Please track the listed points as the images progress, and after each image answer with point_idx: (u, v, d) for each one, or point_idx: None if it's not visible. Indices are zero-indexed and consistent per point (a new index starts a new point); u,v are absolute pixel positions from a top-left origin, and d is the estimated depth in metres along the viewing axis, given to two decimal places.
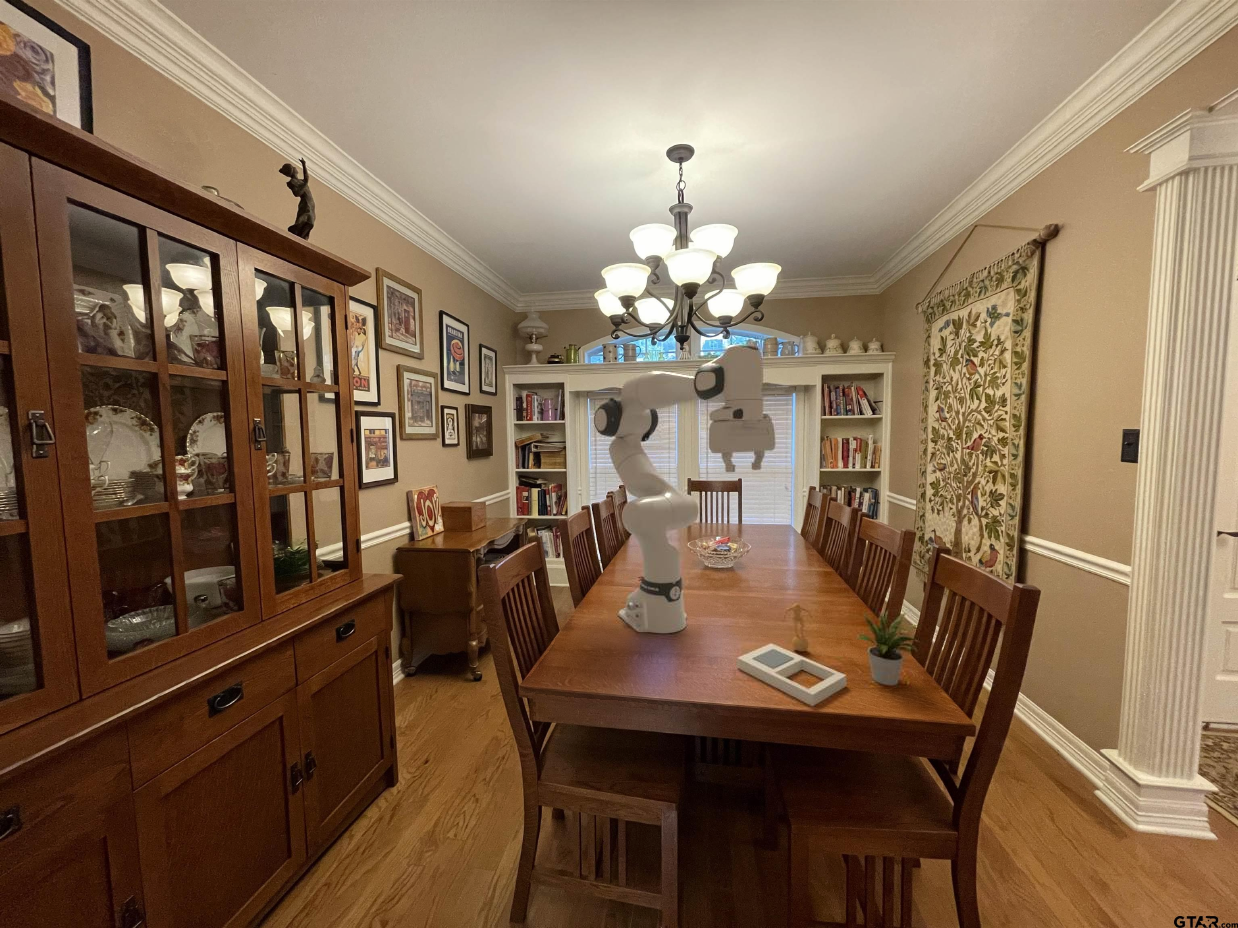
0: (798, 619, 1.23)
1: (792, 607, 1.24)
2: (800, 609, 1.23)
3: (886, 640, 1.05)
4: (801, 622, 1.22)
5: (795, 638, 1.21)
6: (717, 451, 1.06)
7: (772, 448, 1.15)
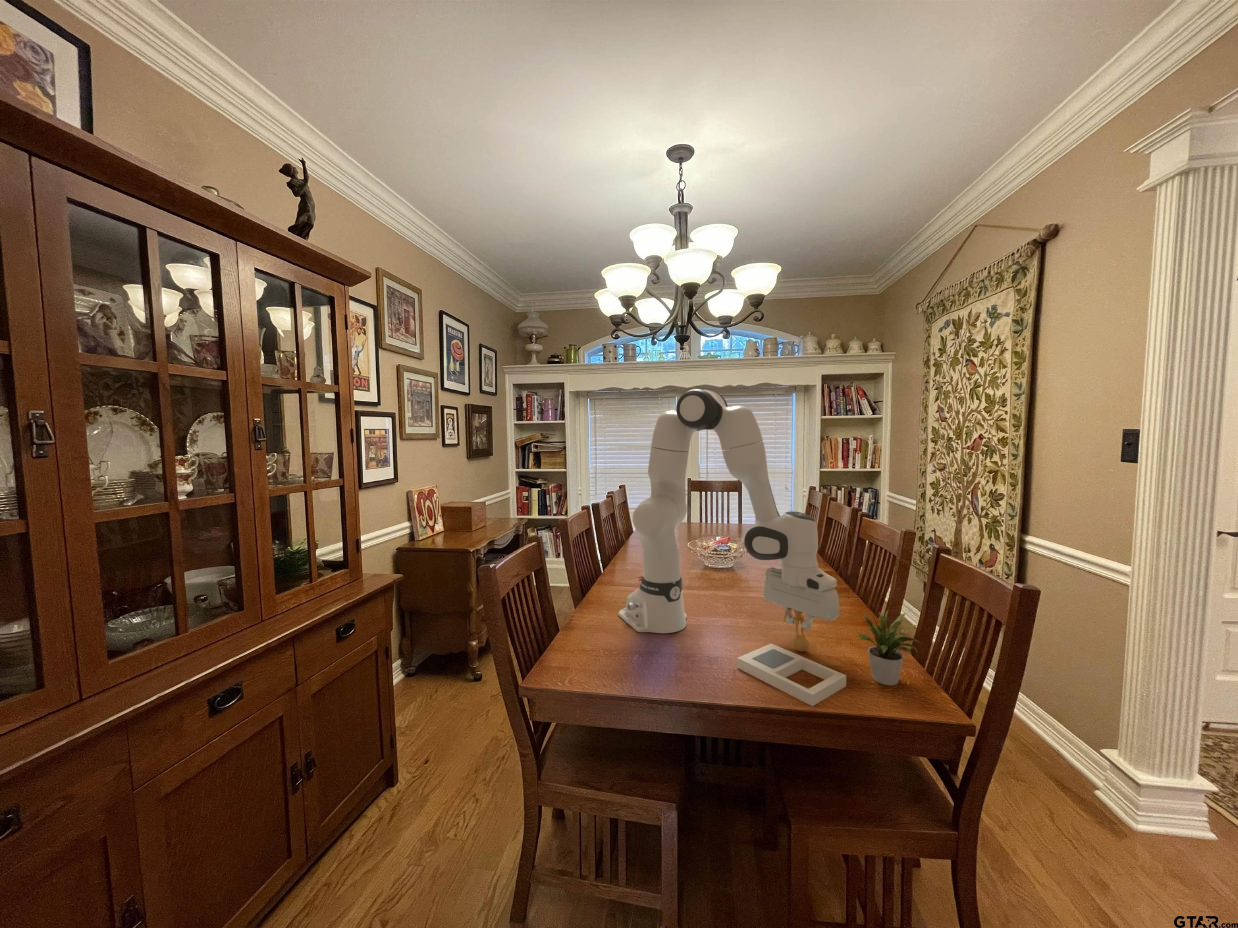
0: (799, 619, 1.22)
1: None
2: None
3: (886, 640, 1.05)
4: None
5: (796, 638, 1.21)
6: (835, 618, 1.15)
7: None
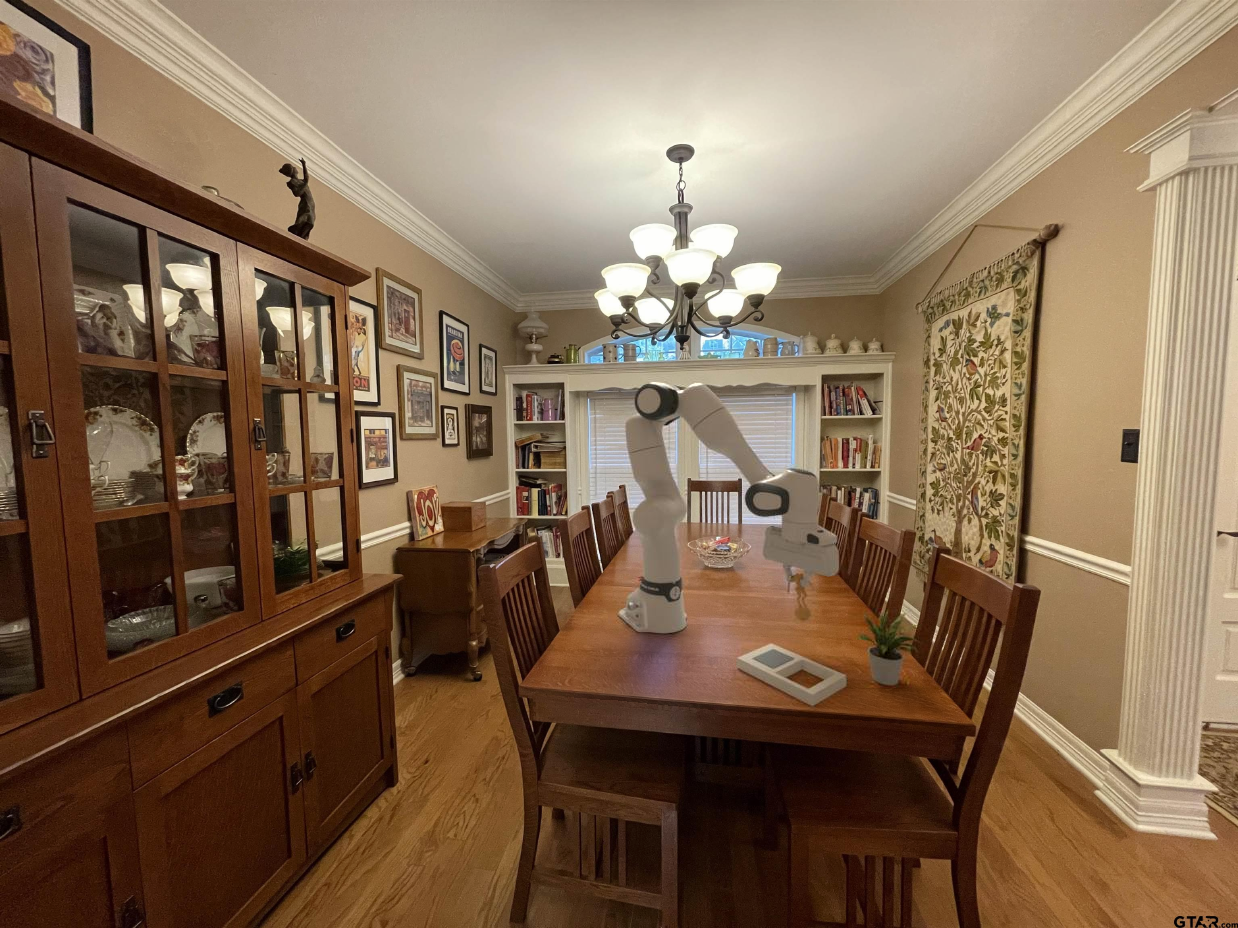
0: (801, 589, 1.22)
1: (795, 577, 1.22)
2: None
3: (886, 640, 1.05)
4: (804, 592, 1.21)
5: (799, 608, 1.20)
6: (834, 574, 1.14)
7: None
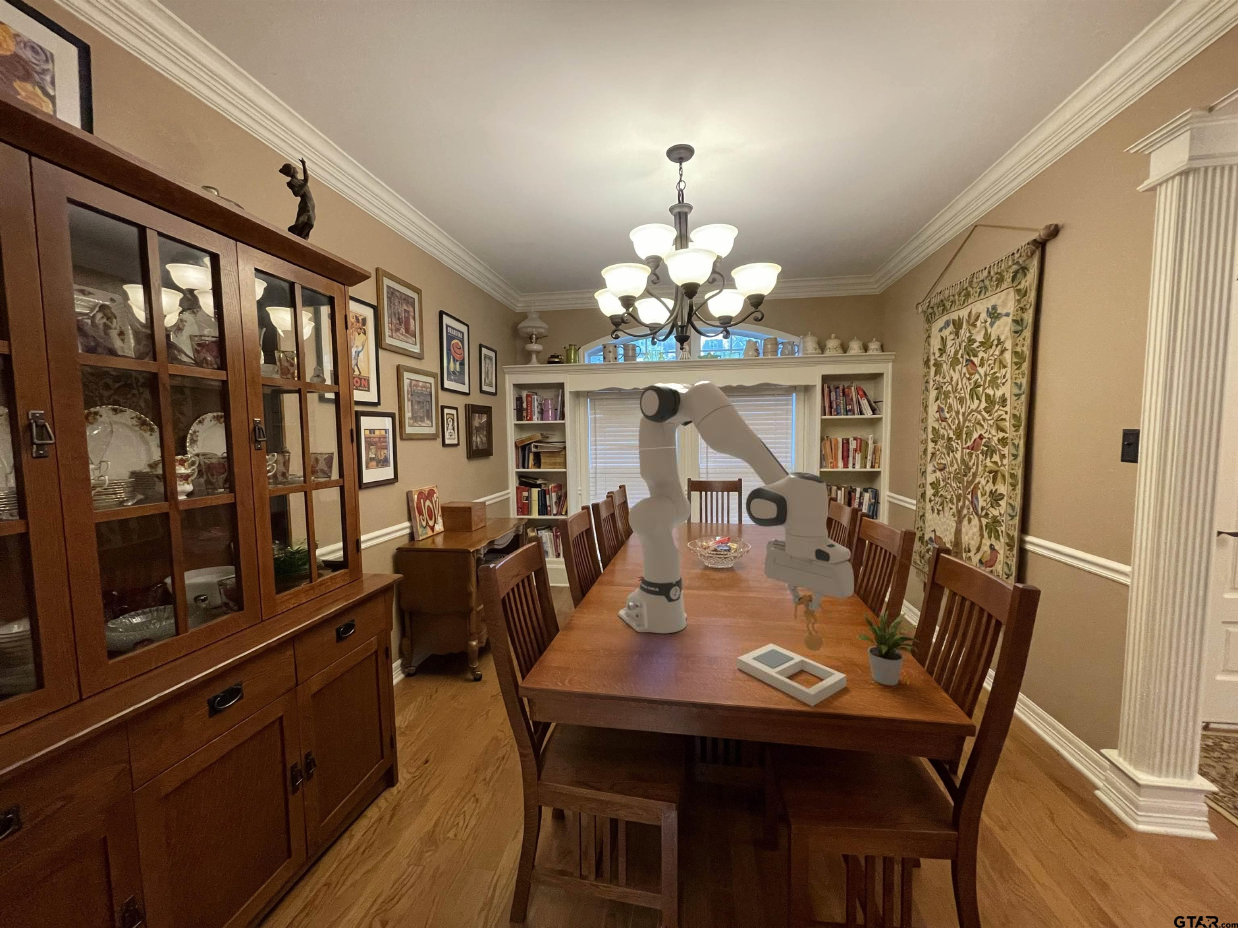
0: (810, 613, 1.04)
1: (803, 599, 1.04)
2: None
3: (886, 640, 1.05)
4: (814, 616, 1.04)
5: (809, 636, 1.03)
6: (849, 595, 0.97)
7: None
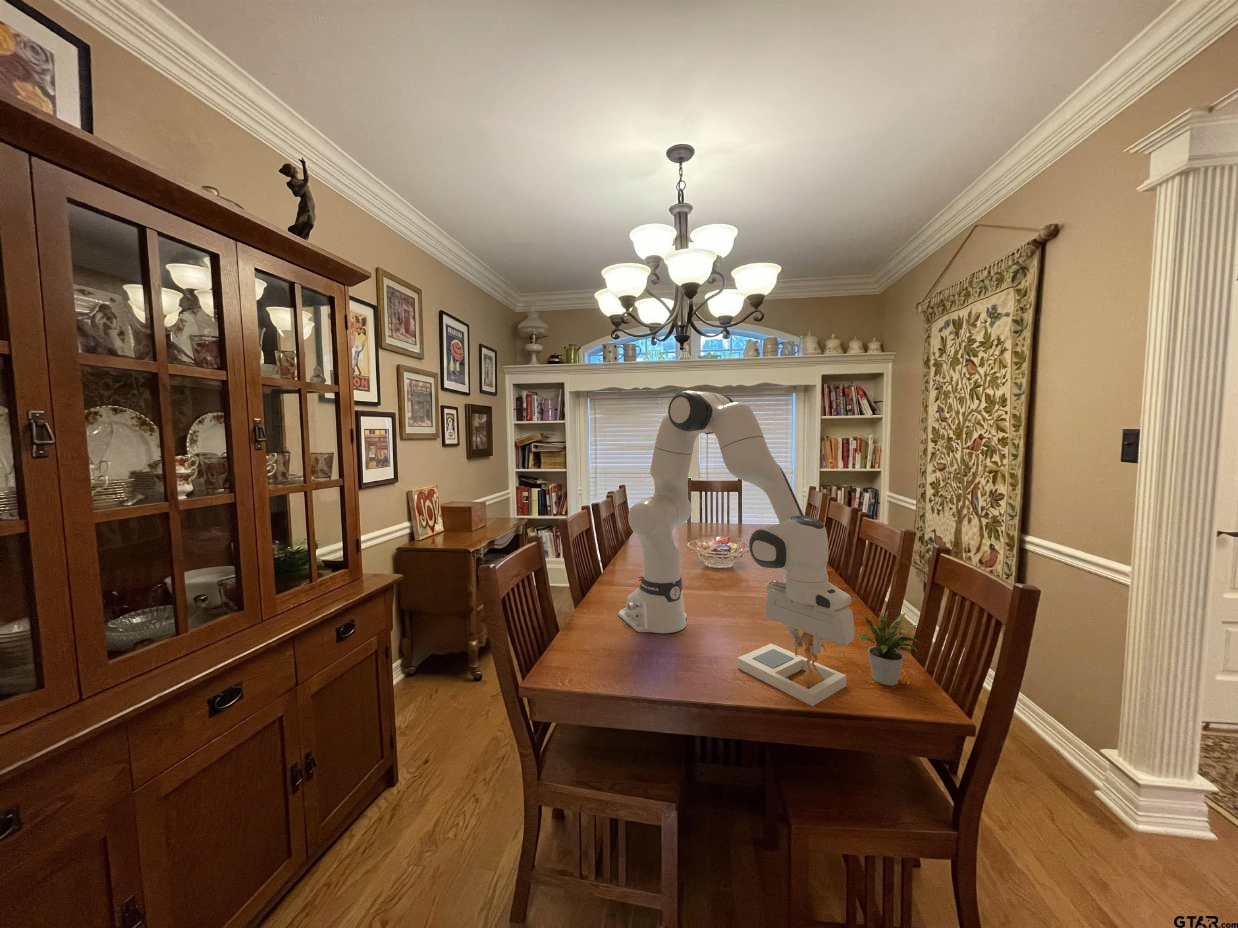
0: None
1: (804, 637, 1.05)
2: (812, 639, 1.05)
3: (886, 640, 1.05)
4: (814, 654, 1.04)
5: (809, 674, 1.03)
6: None
7: None
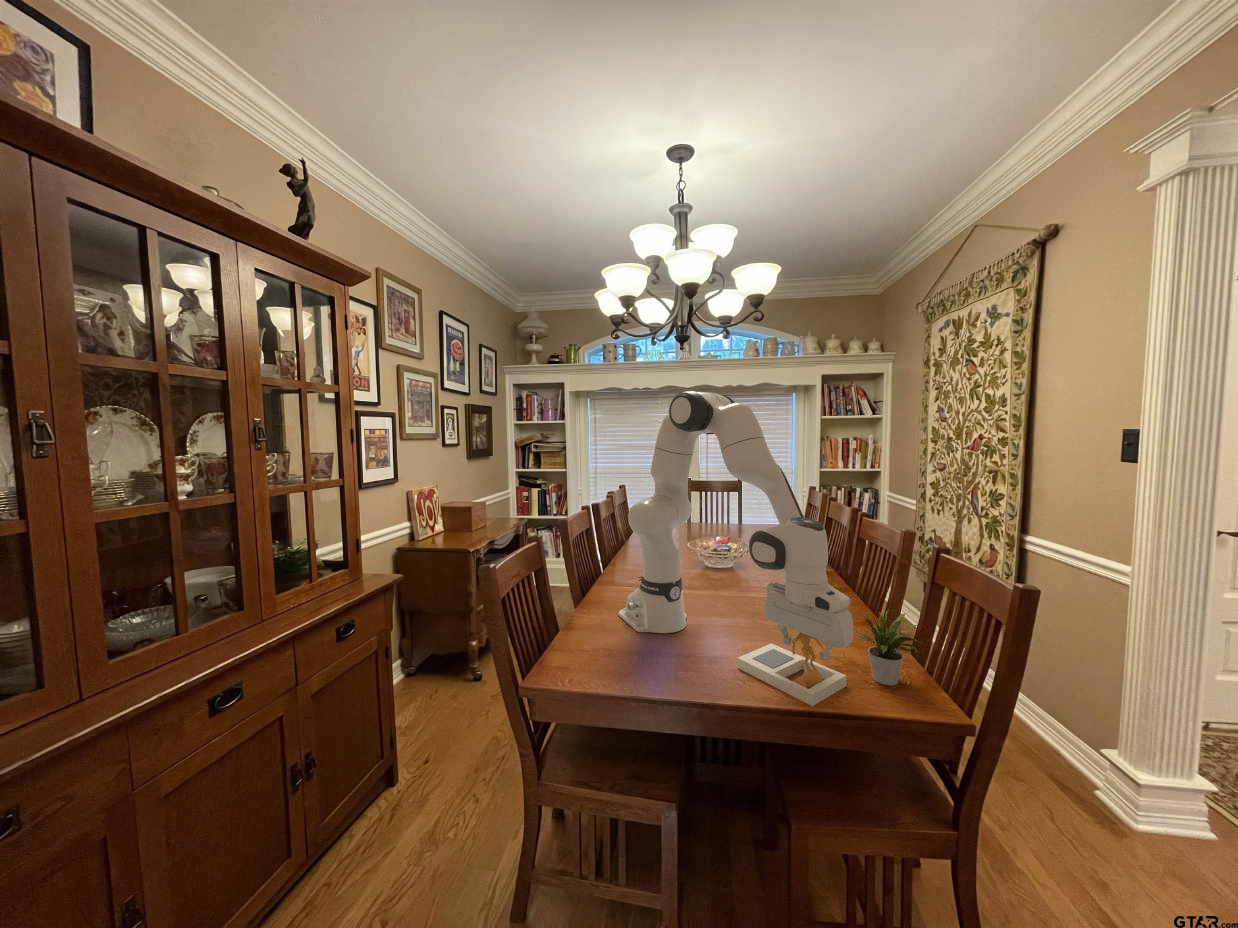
0: (808, 649, 1.06)
1: (800, 636, 1.06)
2: (809, 637, 1.06)
3: (886, 640, 1.05)
4: (812, 652, 1.05)
5: (808, 672, 1.04)
6: None
7: None
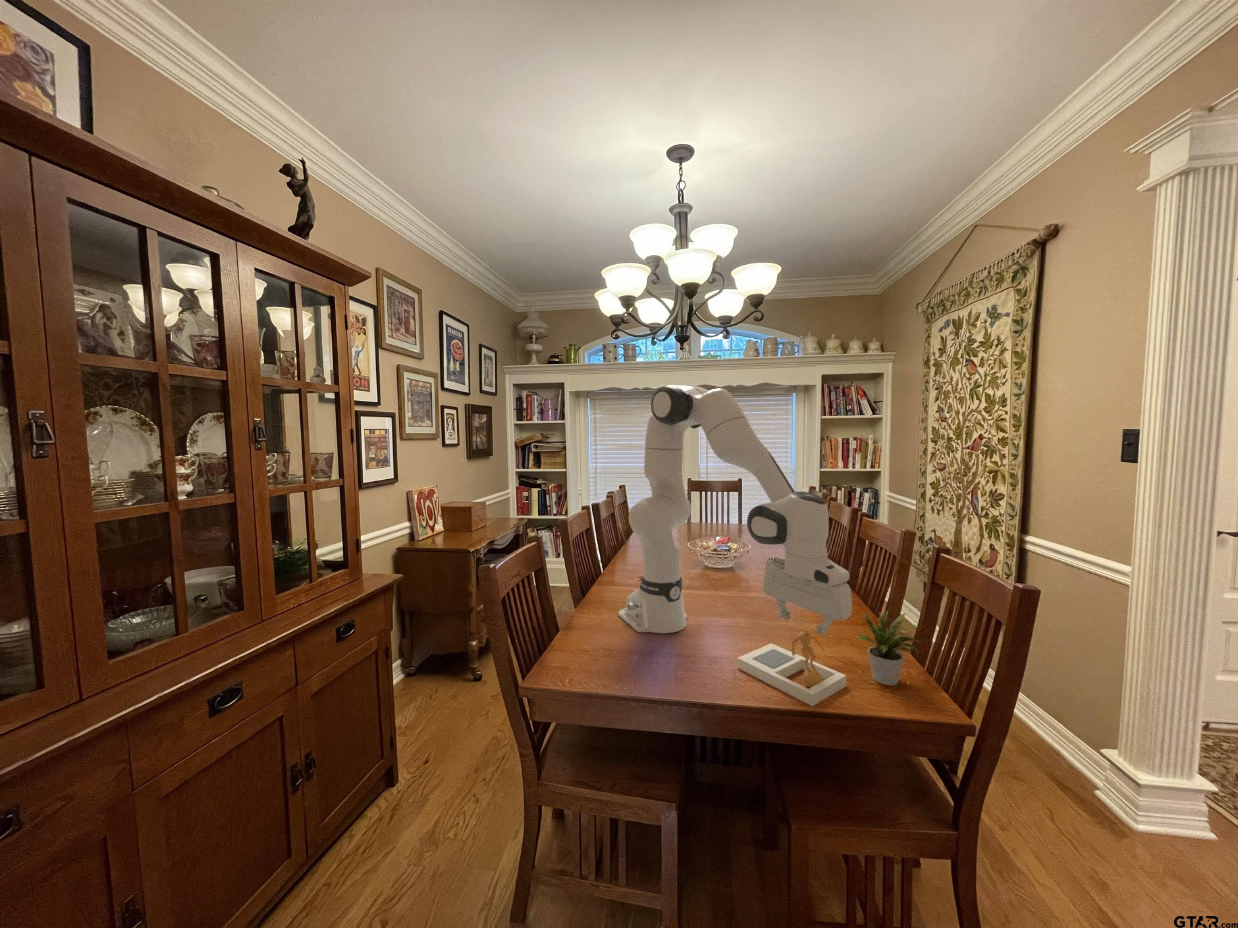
0: (808, 650, 1.05)
1: (800, 636, 1.06)
2: (809, 638, 1.06)
3: (886, 640, 1.05)
4: (812, 653, 1.05)
5: (808, 673, 1.04)
6: (847, 617, 0.97)
7: None
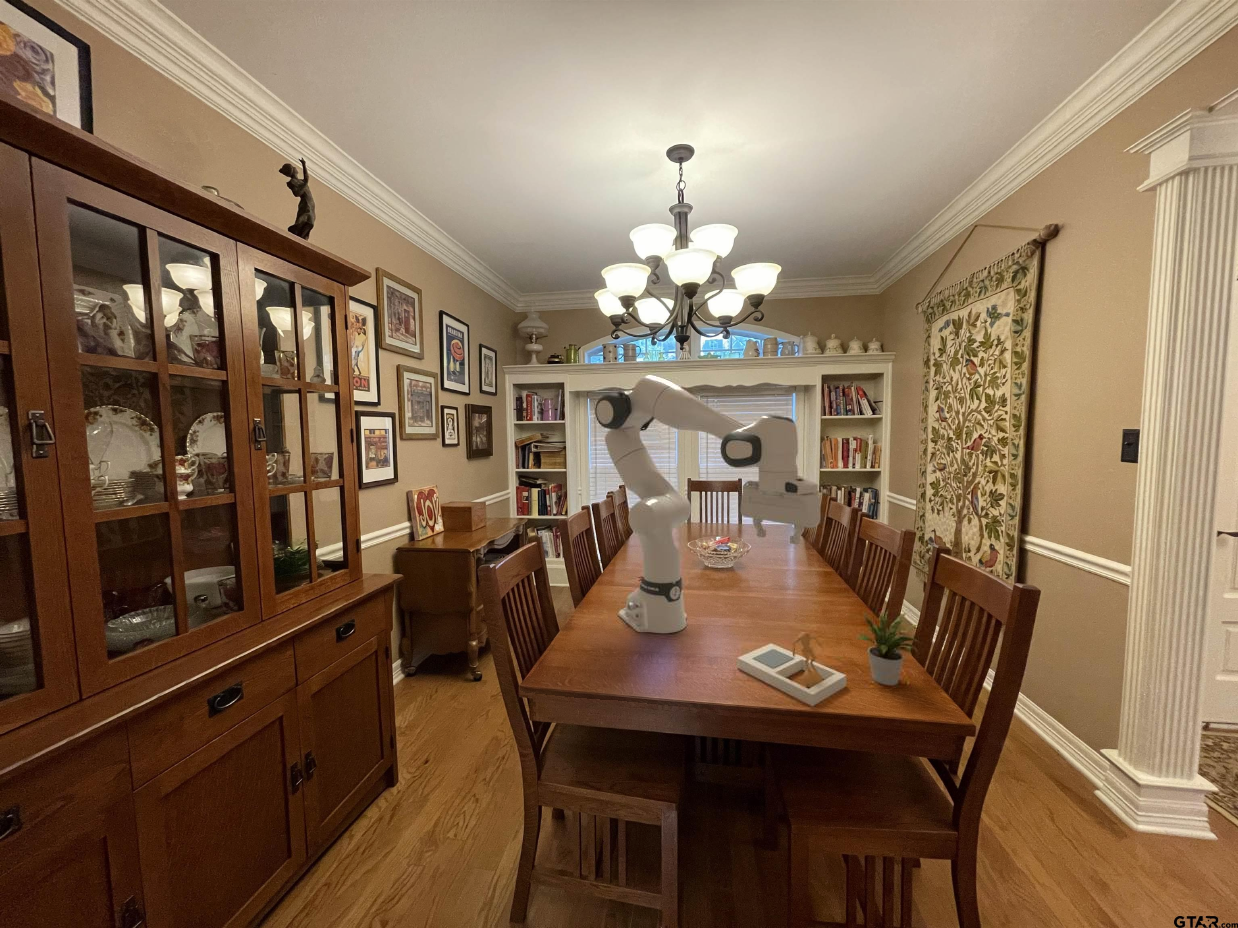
0: (808, 650, 1.05)
1: (801, 637, 1.06)
2: (809, 638, 1.06)
3: (886, 640, 1.05)
4: (812, 653, 1.05)
5: (808, 674, 1.03)
6: (816, 525, 1.04)
7: None
